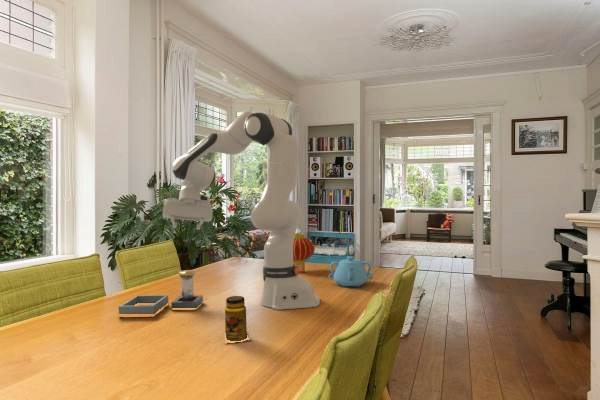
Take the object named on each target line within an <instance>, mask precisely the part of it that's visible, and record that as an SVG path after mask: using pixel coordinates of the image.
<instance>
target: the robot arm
mask: <svg viewBox="0 0 600 400" xmlns="http://www.w3.org/2000/svg"><path fill="white" fill-rule="evenodd" d="M252 142H256V143H258V144H260V145H262V146H267V147H268V149H269V160H268V168H267V175H266V182H265V186H264V188H263V191H262V194H261V197H260V198H259V200H258V202H256V203H257V204H255V205H254V206H253V208H252V209H251V212H250V220H251V223H252V225H253V227H255V228H256V229H258V230H260V231H267V232H269V235H268V238H267V240H266V241H265V243H264V245H263V260H264V261H263V264H264V265H263V267H262V279H263V287H262V288H263V289H262V295H261V300H260V304H261V305H262V306H264V307H268V308H271V309H274V310H279V311H281V310H292V309H295V310H296V309H303V308H304V309H305V308H306V309H308V308H316V307H318V306H319V305H320V304H321V299H320V296H318V295H316V294H315V292H314V288H313V286H312V284H311V283H310V282H309V281H308V280H306V279H305V278H303V276H301V275H300V272H301V269H300V267H299V265H293V243H294V237H295V234H296V233H297V230H298V227H299V224H300V222H301V220H302V218H303V210H302V207H301V206H300V205H299V204H298V203H297V202H296V201H292V200H290V199H289V198H290V195H291V193H292V192H293V190H294V189H295V188H296V185H297V180H298V179H297V178H298V170H299V160H300V159H299V158H300V156H299V155H300V149H299V142H298V140H297V138H296V137H295V136H294V135H293V127H292V125H291V124H290V123H289V122H288V121H287V120H285V119H283V118H280V117H277V116H275V115H274V114H270V113H269V114H268V113H264V112H253V111H245V112H243V113H241V114H240V115H239V116H238V117H236V118H235V119H234V120H232V122H231V123H230V124H229V125H228V126H227V127H226V128H225V129H223V130H221V131H219V132H218V131H217V132H215V133H214V132H213V133H210V134H208V135H207V136H205V137H204V138H203V139H201V140H200V141H198V142H197V143H196V144H195V145H194V146H193V147H191V148H190V149H188V150H187V152H185V153H183V154H181V155H180V156H178V157H177V158H176V159H175V160H174V161H173V164H172V165H171V168H172V173H173V175H174V177H175V178H176V179H177V180H180V190H179V195H178V198H174V197H167V198H165V199H164V200H163V203H162V204H163V208H162V217H163V218H164V219H170V222H171V223H172V228H173V229H174V228H175V229H177V226H178V225H177V224H178V222H176V221H175V220H185V221H194V222H196V221H197V222H199V223H197V224H196V230H201V226H202V225H203V224H204V222H208V223H209V222H211V221H212V219H213V207H212V204H211V197H210V196H207V195H204V194H202V193H201V192H202V191H205V190H207V189H210V188H212V187H213V185H215V183H216V178H217V177H216V174H217V173H216V170H215V169H214V168H213V167H210V166H209V165H207V164H204V163H202V162H200V161H199V160H201V158H203V157H204V156H205V155H207V154H209V153H210V154H211V153H219V154H225V155H239V154H241V153H242V152H244V151H245V150H247V148H248V147H249V146H250V145H251V144H252Z"/></svg>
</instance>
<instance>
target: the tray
mask: <svg viewBox="0 0 600 400" xmlns="http://www.w3.org/2000/svg"><path fill="white" fill-rule="evenodd" d="M137 303H155V304H153V305H139V306H134V305H135V304H137ZM167 303H168V304H169V294H152V295H151V294H147V295H145V294H142V295H140V294H139V295H135V296H134V297H132V298H130V299H128V300H127V301H126V302H124V303H122V304H120V305H119V306H118V315H119V314H155V313H156V312H157V311H158V310H159V309H161V308H162V307H163V306H165V305H166V304H167Z"/></svg>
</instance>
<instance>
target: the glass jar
mask: <svg viewBox="0 0 600 400" xmlns="http://www.w3.org/2000/svg"><path fill="white" fill-rule="evenodd" d="M195 275H196V270H194V269H185V270H180V271H178V277H180V288H181V289H180V294H181V295H180V296H181V301H194V296H195V295H194V294H195V293H194V276H195Z"/></svg>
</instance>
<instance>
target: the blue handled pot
mask: <svg viewBox="0 0 600 400" xmlns="http://www.w3.org/2000/svg"><path fill="white" fill-rule="evenodd" d="M335 264H337V265H336V267H335V270H334V269H333V265H335ZM365 264H367V265H368V270H367V269H366V267H365ZM329 267H330V272H331V273H329V274H328V279H330V280H334V281H335V283H336V284H338V285H339V286H341V287H342V288H344V287H356V288H357V287H358V288H360V287H361V286H363V285H365V284H366V283H367V281H368V280H372V279H373V274H372V273H371V270H372V265H371V263H370V262H368V261H366V260H365V261H361V260H360V259H356V258H355V259H354V256H351V255H350V256H349V255H348V256H346V259H341V260H340V261H332V262H331V263H330V265H329Z"/></svg>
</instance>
